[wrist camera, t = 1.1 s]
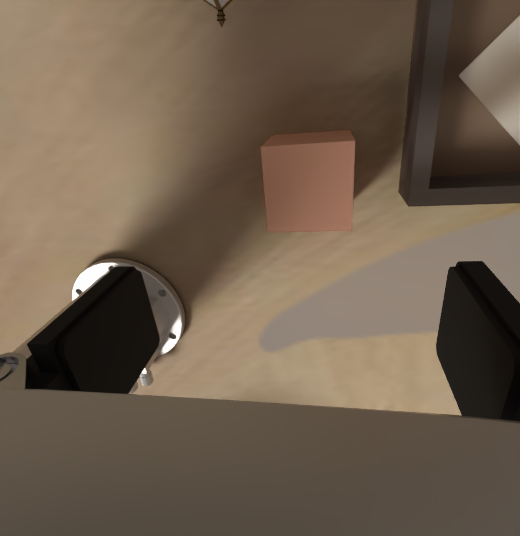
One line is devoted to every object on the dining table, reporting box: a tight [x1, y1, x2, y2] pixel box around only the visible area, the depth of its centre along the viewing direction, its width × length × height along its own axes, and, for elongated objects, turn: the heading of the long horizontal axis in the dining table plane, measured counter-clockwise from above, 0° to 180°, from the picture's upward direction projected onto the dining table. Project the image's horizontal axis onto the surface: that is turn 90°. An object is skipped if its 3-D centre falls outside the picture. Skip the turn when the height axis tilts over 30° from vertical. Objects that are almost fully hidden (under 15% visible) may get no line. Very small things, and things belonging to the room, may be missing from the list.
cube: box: [261, 130, 355, 232], centre depth 26 cm, size 6×6×6 cm
